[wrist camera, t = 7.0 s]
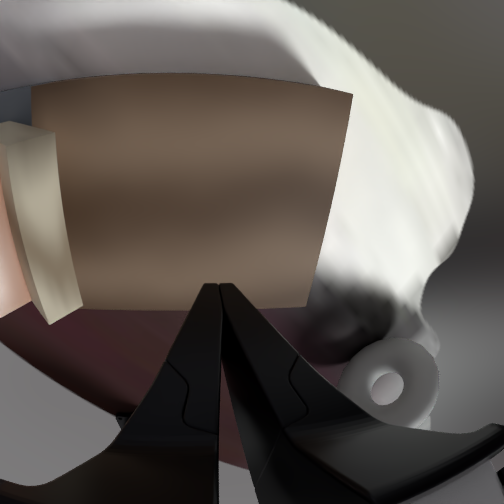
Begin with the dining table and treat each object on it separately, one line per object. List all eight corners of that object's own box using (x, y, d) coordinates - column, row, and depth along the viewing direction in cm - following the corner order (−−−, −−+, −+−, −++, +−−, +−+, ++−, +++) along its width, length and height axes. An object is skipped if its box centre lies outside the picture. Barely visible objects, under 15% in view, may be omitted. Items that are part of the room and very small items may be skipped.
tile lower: (83, 305, 14) (49, 324, 12) (27, 243, 17) (2, 255, 16) (55, 132, 9) (6, 146, 8) (9, 120, 13) (-22, 129, 11)
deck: (288, 267, 22) (305, 306, 19) (82, 267, 19) (66, 307, 16) (320, 86, 16) (353, 94, 12) (63, 80, 13) (30, 86, 10)
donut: (331, 380, 31) (363, 462, 23) (316, 369, 30) (350, 458, 21) (412, 327, 29) (460, 404, 21) (403, 311, 27) (458, 394, 19)
